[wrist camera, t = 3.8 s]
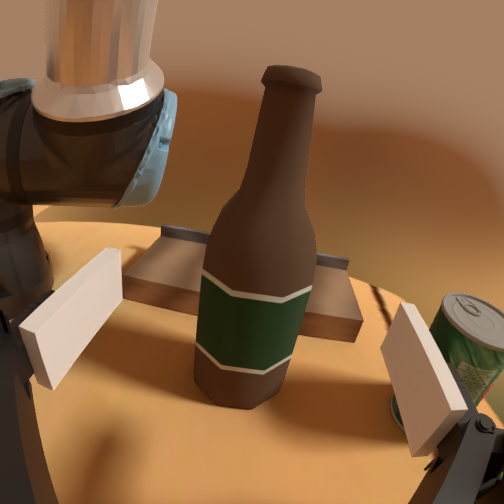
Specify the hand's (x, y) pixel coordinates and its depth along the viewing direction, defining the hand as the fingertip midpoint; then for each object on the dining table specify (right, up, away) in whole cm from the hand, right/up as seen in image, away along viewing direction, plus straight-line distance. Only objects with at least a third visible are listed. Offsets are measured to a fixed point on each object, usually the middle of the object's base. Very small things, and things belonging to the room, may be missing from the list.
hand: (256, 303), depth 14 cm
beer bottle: (-2, -9, +12) cm, 15 cm away
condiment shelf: (-1, -3, +25) cm, 25 cm away
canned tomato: (+16, -13, +10) cm, 23 cm away
